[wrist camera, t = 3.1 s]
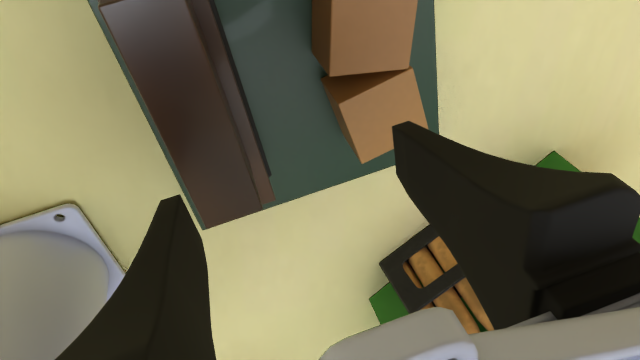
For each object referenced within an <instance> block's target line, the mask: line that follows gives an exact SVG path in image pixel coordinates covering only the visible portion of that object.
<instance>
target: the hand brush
mask: <svg viewBox="0 0 640 360" xmlns="http://www.w3.org/2000/svg"><path fill="white" fill-rule="evenodd" d="M97 1H98V3H99V4H98V9H99V11H100V13H101V15H102V18H103V20H104V22H105V24H106V26H107V28H108V30H109V32H110V34H111V36H112V38H113V40H114V42H115V44H116V46H117V48H118V50H119V52H120V54H121V56H122V58H123V60H124V62H125V64H126V66H127V68H128V70H129V73H130V75H131V77H132V79H133V81H134V83H135V85H136V87H137V89H138V91H139V93H140V95H141V97H142V99H143V101H144V103H145V105H146V107H147V109H148V111H149V113H150V115H151V117H152V119H153V121H154V123H155V125H156V128H157V130H158V132H159V134H160V136H161V138H162V140H163V142H164V144H165V146H166V148H167V150H168V152H169V154H170V156H171V158H172V160H173V162H174V164H175V166H176V168H177V170H178V172H179V174H180V176H181V178H182V180H183V183H184V185H185V187H186V189H187V191H188V193H189V195H190V197H191V199H192V201H193V203H194V205H195V207H196V209H197V211H198V213H199V215H200V217H201V219H202V221H203V223H204V225H205V227H206V228H207V229H208V228H211V227H214V226H217V225H220V224H223V223H226V222H229V221H232V220H235V219H238V218H241V217H244V216H247V215H250V214H253V213H256V212H258V211H261V210H263V206H262V205H263V204H266V203H269V202H272V201H275V200H276V198H275V195H274V192H273V189H272V186H271V183H270V180H269V177H270V176H271V175H272V174H271V171H270V168H269V165H268V162H267V159H266V156H265V153H264V150H263V147H262V144H261V141H260V138H259V135H258V132H257V129H256V126H255V123H254V120H253V116H252V113H251V110H250V107H249V104H248V101H247V98H246V95H245V92H244V89H243V86H242V83H241V80H240V77H239V74H238V71H237V68H236V65H235V62H234V59H233V56H232V53H231V50H230V47H229V44H228V41H227V38H226V35H225V32H224V29H223V26H222V23H221V20H220V17H219V14H218V11H217V8H216V5H215V2H214V0H97Z"/></svg>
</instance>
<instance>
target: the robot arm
mask: <svg viewBox="0 0 640 360" xmlns="http://www.w3.org/2000/svg"><path fill="white" fill-rule="evenodd" d="M392 134H393V144H394V154H395V164H396V174H397V176H398V178H399V180H400V181H401V183H402V185H403V187H404V189H405V190H406V192H407V194H408V196H409V197H410V199H411V200H412V201H413V203H414V204H415V205H416V207H417V208H418V209H419V211H420V212H421V213H422V214H423V216H424V217H425V218H426V220H427V221H428V222H429V224H430V225H431V226H432V227H433V229H434V230H435V231H436V233H437V234H438V235H439V237H440V238H441V239H442V240H443V242H444V243H445V245H446V246H447V247H448V249H449V250H450V252H451V253H452V255H453V257H454V258H455V260H456V262H457V263H458V265H459V267H460V268H461V270H462V272H463V273H464V275H465V277H466V279H467V280H468V282H469V284H470V286H471V287H472V289H473V291H474V293H475V295H476V296H477V298H478V300H479V302H480V304H481V306H482V307H483V309H484V311H485V313H486V315H487V317H488V319H489V320H490V322H491V324H492V326H493V328H494V330H492V331H486V332H480V333H473V334H467V332H466V331H465V329H464V327H463V326H462V324H461V323H460V321H459V320H458V318H457V316H456V315H455V313H454V312H453V310H449V309H446V308H442V307H433V308H428V309H423V310H419V311H417V312H414V313H411V314H409V315H406V316H403V317H401V318H398V319H395V320H392V321H390V322H387V323H384V324H382V325H379V326H376V327H374V328H371V329H368V330H366V331H363V332H360V333H357V334H355V335H352V336H349V337H347V338H344V339H342V340H341V341H339V342H337V343H335V344H333V345H332V346H330V347H329V348H328V349H327V350H326V351H325V352H324V354H323V355H322V356H321V357H320V358H319V360H640V253H639V252H640V244H639V243H638V242H637V241H636V240H635V239H633V238H632V236H633V233H634V230H635V227H636V225H637V222H638V219H639V216H640V195H639V194H638V193H637V192H636V191H635V190H634V189H632V188H631V187H630V186H628V185H627V184H626V183H624V182H623V181H621V180H620V179H619V178H617V177H616V176H614V175H613V174H611V173H592V172H575V171H566V170H557V169H550V168H543V167H538V166H533V165H527V164H522V163H518V162H514V161H510V160H506V159H503V158H499V157H495V156H492V155H489V154H486V153H483V152H480V151H477V150H475V149H472V148H469V147H467V146H464V145H462V144H459V143H457V142H454V141H452V140H450V139H448V138H445V137H443V136H441V135H439V134H437V133H434V132H432V131H430V130H428V129H426V128H424V127H422V126H420V125H417V124H415V123H413V122H411V121H406V122H403V123H400V124H397V125H394V126H392ZM57 214H61V215H63V216H64V217H57V216H56V215H57ZM0 360H216V356H215V350H214V344H213V339H212V330H211V318H210V302H209V285H208V270H207V262H206V257H205V252H204V247H203V242H202V239H201V236H200V234H199V232H198V230H197V228H196V226H195V224H194V222H193V220H192V218H191V216H190V214H189V212H188V210H187V208H186V206H185V204H184V202H183V200H182V198H181V196H180V195H176V196H173V197H170V198H167V199H164V200H161V201H160V203H159V205H158V208H157V210H156V212H155V215H154V217H153V220H152V222H151V224H150V227H149V229H148V231H147V234H146V236H145V238H144V240H143V242H142V244H141V246H140V249H139V251H138V253H137V254H136V256H135V258H134V260H133V262H132V264H131V266H130V267H129V269H128V271H127V273H126V274H125V272H124V271H123V269H122V268H121V266H120V265H119V264H118V262H117V261H116V259H115V258H114V257H113V255H112V254H111V252H110V251H109V249H108V248H107V247H106V245H105V244H104V242H103V241H102V240H101V238H100V237H99V235H98V234H97V233H96V231H95V230H94V228H93V227H92V225H91V224H90V223H89V221H88V220H87V218H86V217H85V216H84V214H83V213H82V211H81V210H80V208H79V207H78V206H76V205H74V204H64V205H61V206H57V207H54V208H51V209H48V210H45V211H42V212H39V213H36V214H33V215H30V216H27V217H23V218H20V219H17V220H14V221H11V222H8V223H5V224H2V225H0Z"/></svg>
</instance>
